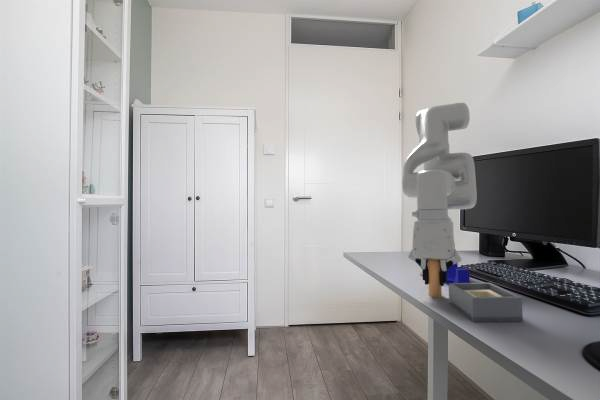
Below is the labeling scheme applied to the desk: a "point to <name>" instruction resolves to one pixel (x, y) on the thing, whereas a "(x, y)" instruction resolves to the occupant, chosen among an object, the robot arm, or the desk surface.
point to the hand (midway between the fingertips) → (434, 283)
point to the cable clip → (457, 275)
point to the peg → (434, 278)
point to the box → (485, 302)
